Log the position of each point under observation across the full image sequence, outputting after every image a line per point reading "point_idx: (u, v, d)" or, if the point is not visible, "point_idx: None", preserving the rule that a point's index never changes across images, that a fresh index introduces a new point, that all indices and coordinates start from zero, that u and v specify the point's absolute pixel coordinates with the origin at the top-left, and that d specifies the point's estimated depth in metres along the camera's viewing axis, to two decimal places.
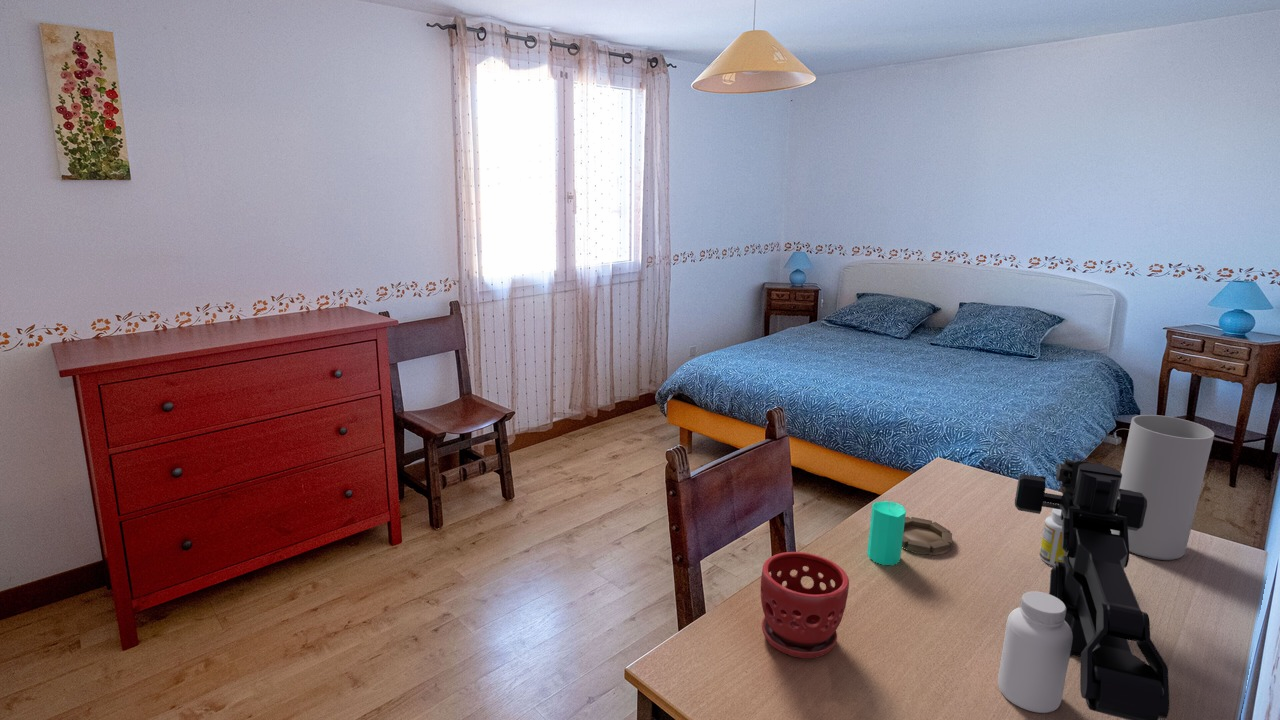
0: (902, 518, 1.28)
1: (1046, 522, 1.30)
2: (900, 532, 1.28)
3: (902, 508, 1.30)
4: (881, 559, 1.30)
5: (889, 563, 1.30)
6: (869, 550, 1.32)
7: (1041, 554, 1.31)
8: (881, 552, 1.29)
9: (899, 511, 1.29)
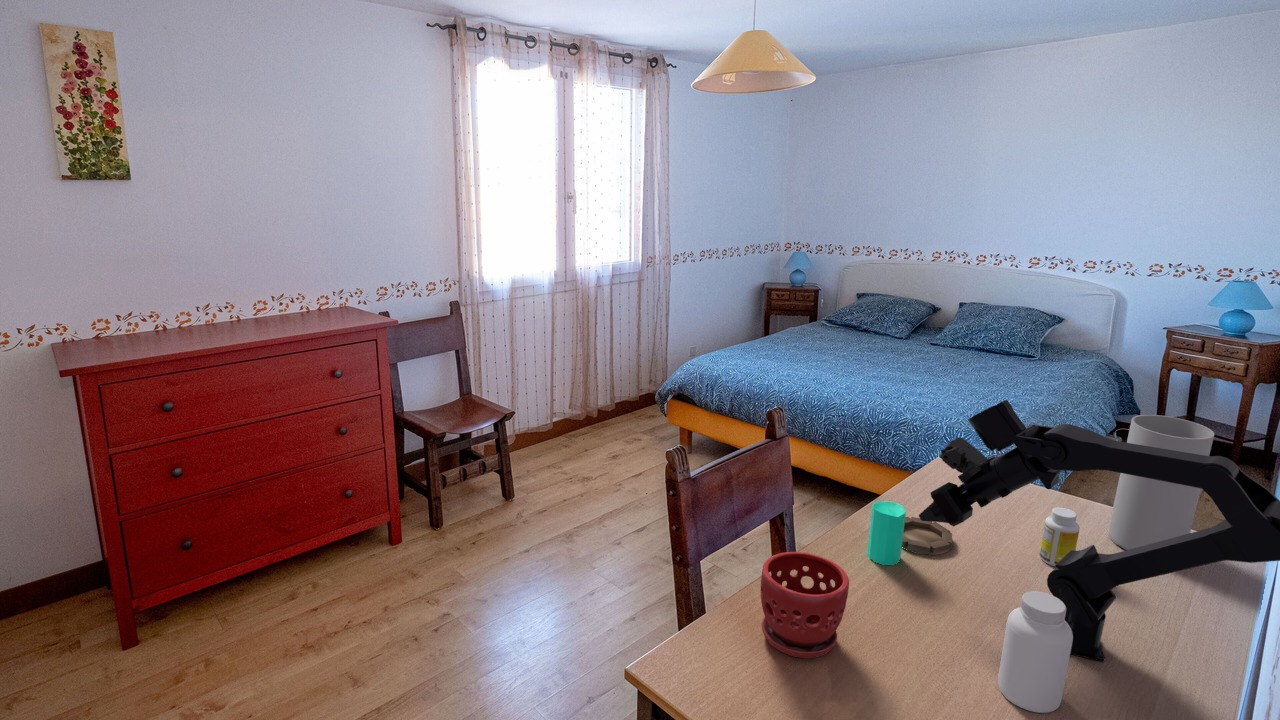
0: (902, 518, 1.28)
1: (1046, 522, 1.30)
2: (900, 532, 1.28)
3: (902, 508, 1.30)
4: (881, 559, 1.30)
5: (889, 563, 1.30)
6: (869, 550, 1.32)
7: (1041, 554, 1.31)
8: (881, 552, 1.29)
9: (899, 511, 1.29)
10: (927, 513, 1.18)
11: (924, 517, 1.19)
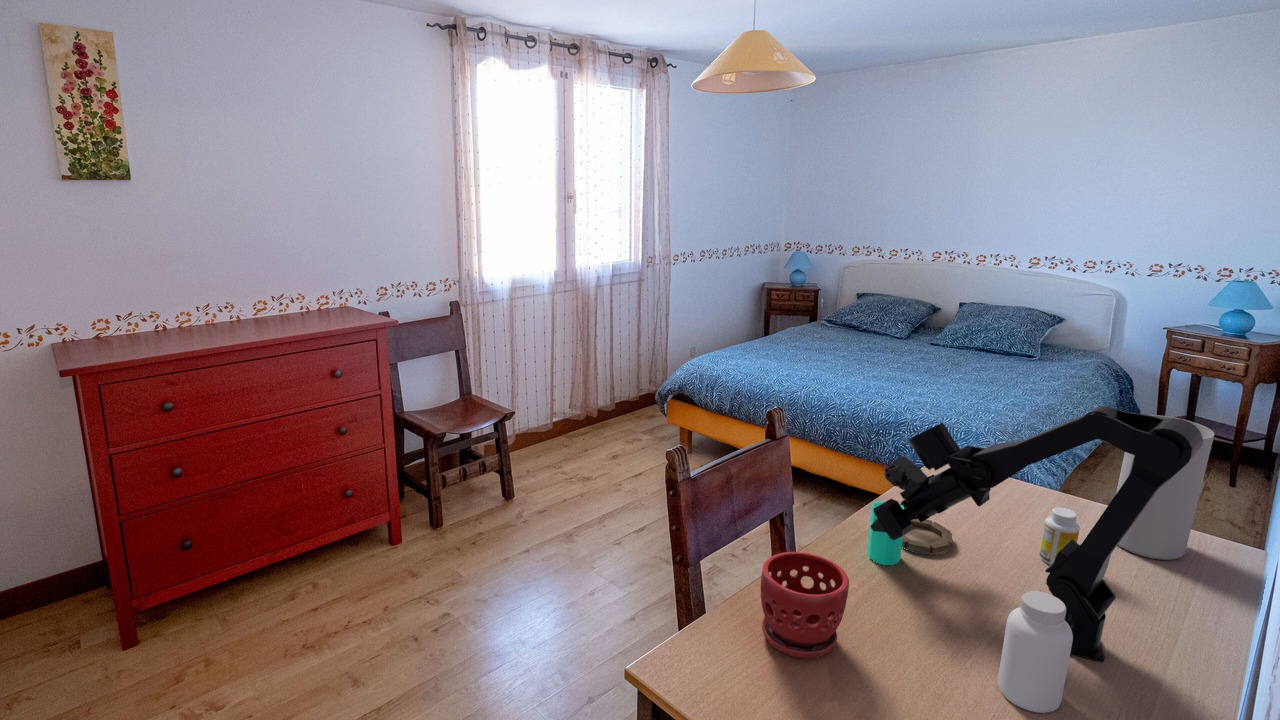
0: None
1: (1046, 522, 1.30)
2: None
3: (902, 508, 1.30)
4: (881, 559, 1.30)
5: (889, 563, 1.30)
6: (869, 550, 1.32)
7: (1041, 554, 1.31)
8: (881, 552, 1.29)
9: None
10: (878, 524, 1.28)
11: (875, 528, 1.29)
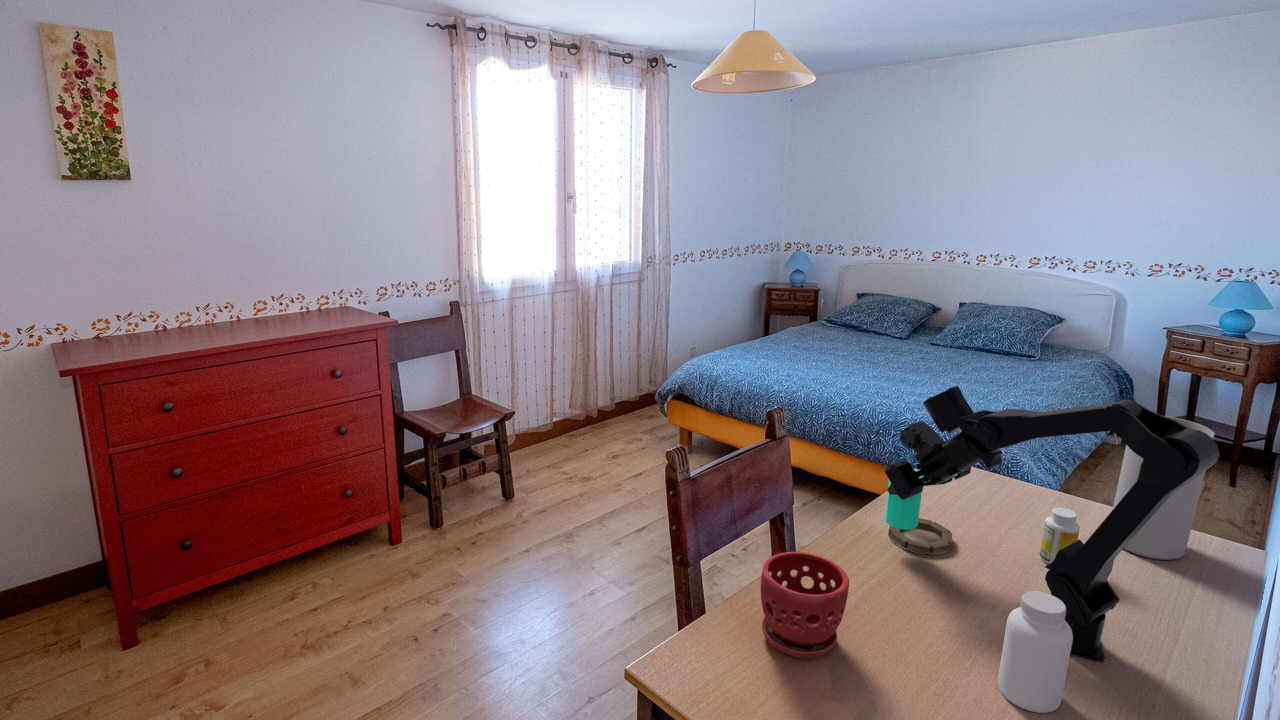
0: None
1: (1046, 522, 1.30)
2: (916, 496, 1.30)
3: None
4: (897, 522, 1.31)
5: (905, 527, 1.31)
6: (886, 514, 1.34)
7: (1041, 554, 1.31)
8: (896, 516, 1.31)
9: None
10: (893, 487, 1.30)
11: (891, 491, 1.31)
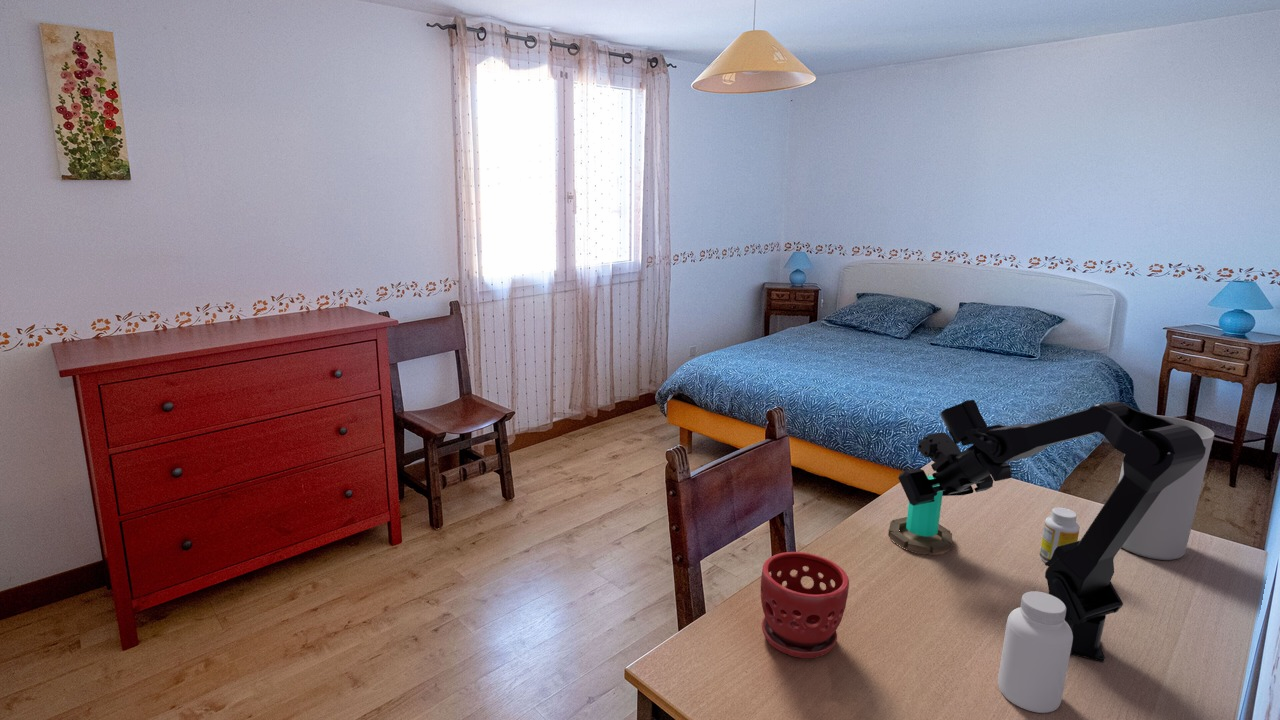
0: None
1: (1046, 522, 1.30)
2: (935, 505, 1.34)
3: None
4: (915, 528, 1.36)
5: (922, 533, 1.35)
6: (907, 519, 1.38)
7: (1041, 554, 1.31)
8: (915, 522, 1.36)
9: None
10: None
11: None
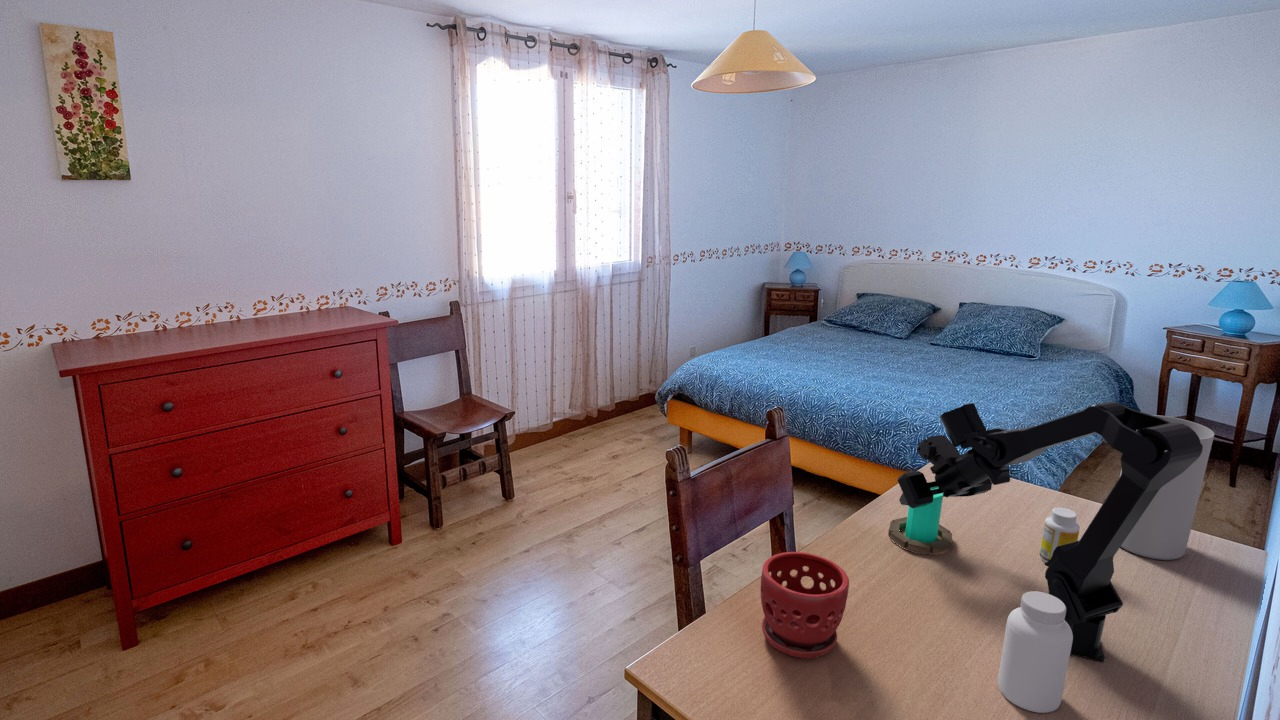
0: (937, 500, 1.33)
1: (1046, 522, 1.30)
2: (935, 514, 1.34)
3: None
4: (914, 537, 1.36)
5: None
6: (906, 528, 1.39)
7: (1041, 554, 1.31)
8: (914, 531, 1.36)
9: None
10: (904, 498, 1.34)
11: (902, 501, 1.35)
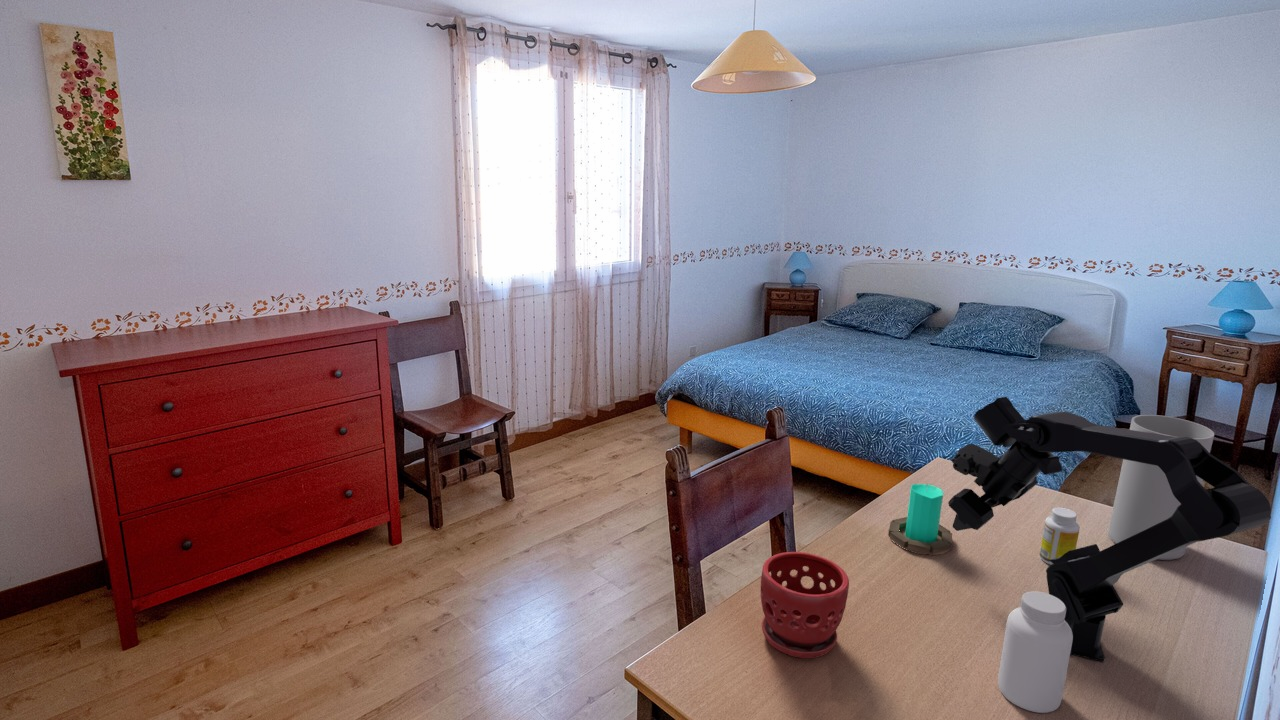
0: (936, 500, 1.33)
1: (1046, 522, 1.30)
2: (935, 514, 1.34)
3: (940, 492, 1.35)
4: (914, 537, 1.36)
5: None
6: (906, 528, 1.39)
7: (1041, 554, 1.31)
8: (914, 531, 1.36)
9: (936, 494, 1.35)
10: (958, 522, 1.23)
11: (957, 527, 1.23)
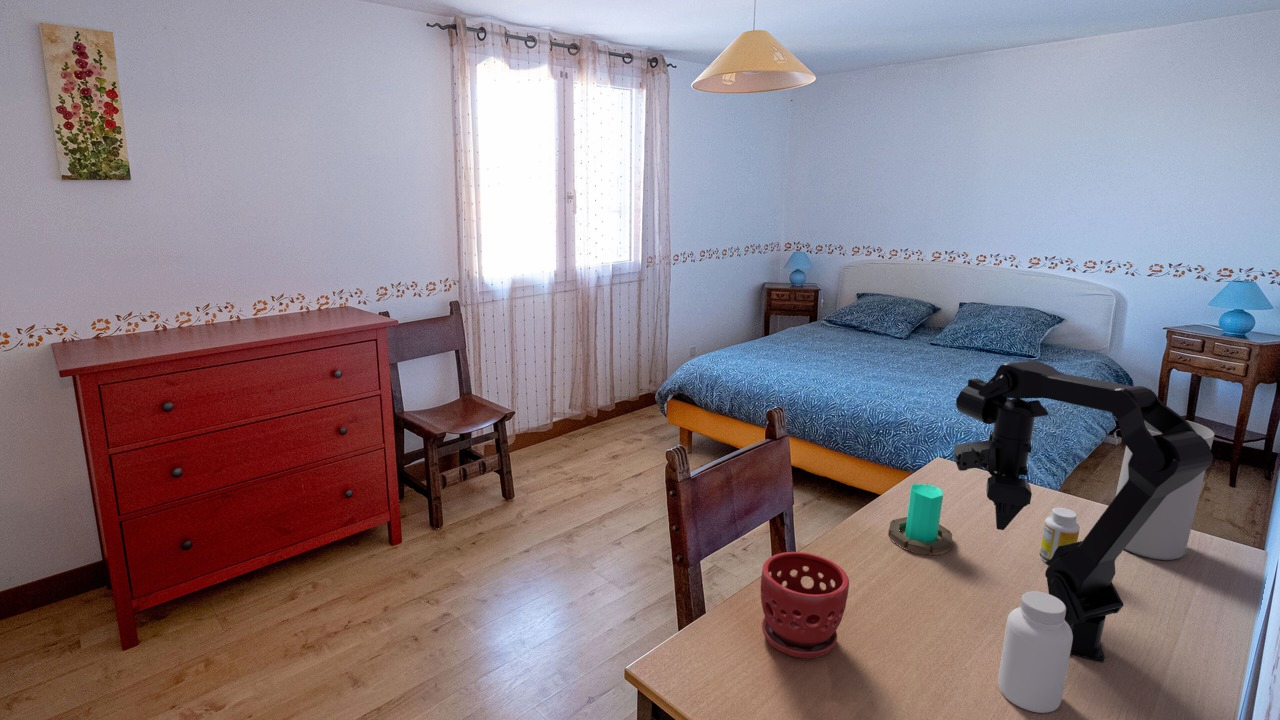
0: (937, 500, 1.33)
1: (1046, 522, 1.30)
2: (935, 514, 1.34)
3: (940, 492, 1.35)
4: (914, 537, 1.36)
5: None
6: (906, 528, 1.39)
7: (1041, 554, 1.31)
8: (914, 531, 1.36)
9: (936, 494, 1.35)
10: (1001, 519, 1.16)
11: (1002, 525, 1.16)
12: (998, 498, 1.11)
